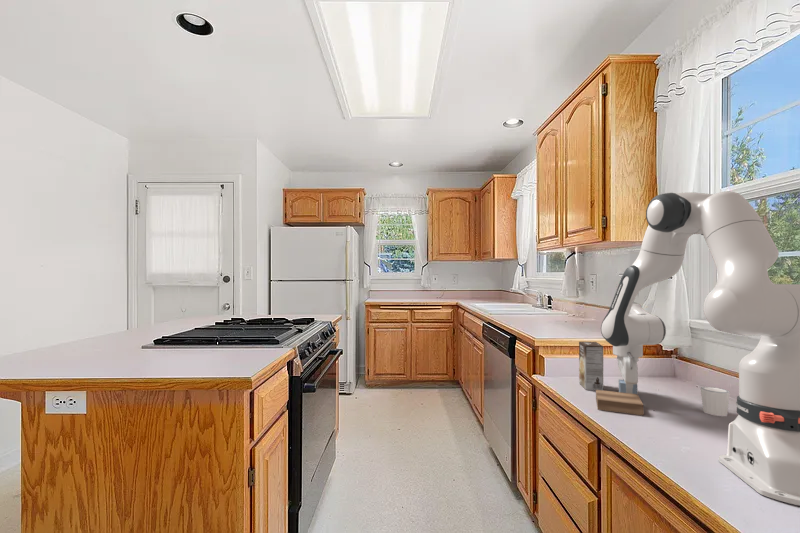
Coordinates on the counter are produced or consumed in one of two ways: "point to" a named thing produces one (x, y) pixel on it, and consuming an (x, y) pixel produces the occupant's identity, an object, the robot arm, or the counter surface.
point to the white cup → (715, 401)
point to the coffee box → (591, 365)
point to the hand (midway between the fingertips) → (627, 391)
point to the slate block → (623, 387)
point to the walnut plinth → (619, 402)
